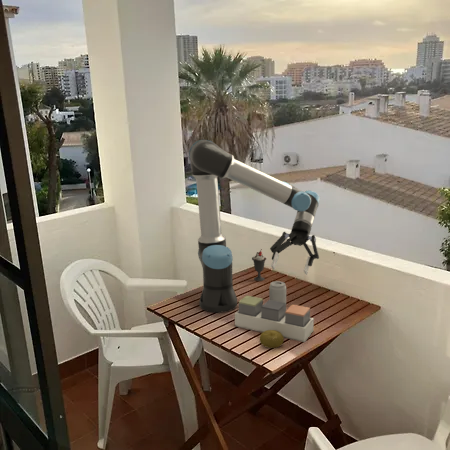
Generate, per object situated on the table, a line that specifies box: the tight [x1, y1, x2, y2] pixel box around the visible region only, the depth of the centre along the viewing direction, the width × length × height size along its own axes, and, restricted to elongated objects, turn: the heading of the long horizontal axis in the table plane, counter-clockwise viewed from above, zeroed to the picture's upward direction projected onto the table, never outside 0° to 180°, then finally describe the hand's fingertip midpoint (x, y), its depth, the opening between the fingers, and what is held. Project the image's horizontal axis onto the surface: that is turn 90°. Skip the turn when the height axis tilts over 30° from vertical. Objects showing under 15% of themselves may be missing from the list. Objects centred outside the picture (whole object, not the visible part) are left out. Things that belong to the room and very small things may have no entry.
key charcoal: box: [261, 299, 287, 322], centre depth 164 cm, size 6×6×6 cm
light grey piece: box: [234, 309, 315, 343], centre depth 165 cm, size 26×9×5 cm, turn 61°
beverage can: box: [268, 280, 287, 304], centre depth 177 cm, size 6×6×12 cm
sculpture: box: [259, 330, 285, 349], centre depth 155 cm, size 8×4×8 cm
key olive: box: [238, 295, 264, 317], centre depth 169 cm, size 6×6×6 cm
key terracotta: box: [285, 303, 311, 327], centre depth 160 cm, size 6×6×6 cm
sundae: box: [251, 248, 267, 282], centre depth 213 cm, size 7×7×15 cm
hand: (288, 270), depth 184 cm, fingers open, 13 cm apart
